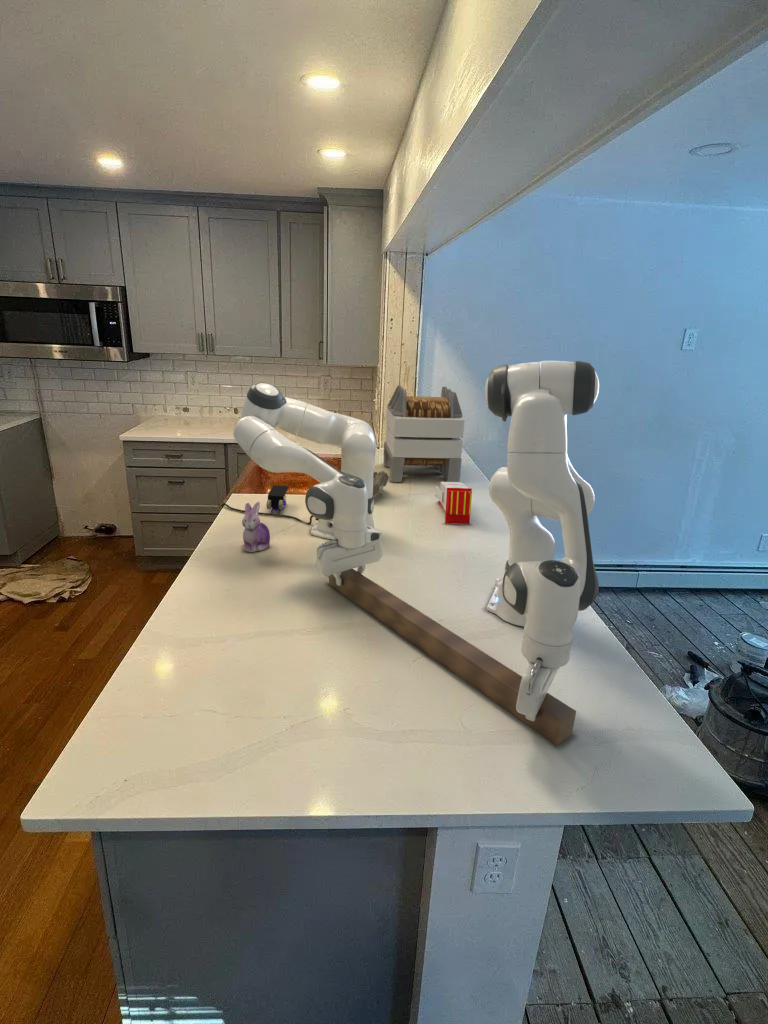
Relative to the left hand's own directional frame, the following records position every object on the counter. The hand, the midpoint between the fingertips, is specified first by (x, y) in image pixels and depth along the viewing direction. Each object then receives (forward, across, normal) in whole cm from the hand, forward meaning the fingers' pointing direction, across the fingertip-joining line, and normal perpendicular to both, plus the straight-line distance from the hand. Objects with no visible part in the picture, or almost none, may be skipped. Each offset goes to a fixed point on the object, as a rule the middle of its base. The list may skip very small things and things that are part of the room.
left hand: (349, 581), depth 157 cm
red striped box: (+3, +72, +32) cm, 79 cm away
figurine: (+3, -8, +41) cm, 42 cm away
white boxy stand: (+3, +98, +81) cm, 127 cm away
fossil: (+3, +57, +64) cm, 86 cm away
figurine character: (+3, +16, +70) cm, 72 cm away
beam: (+3, 0, -32) cm, 32 cm away
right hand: (0, 0, -64) cm, 64 cm away
